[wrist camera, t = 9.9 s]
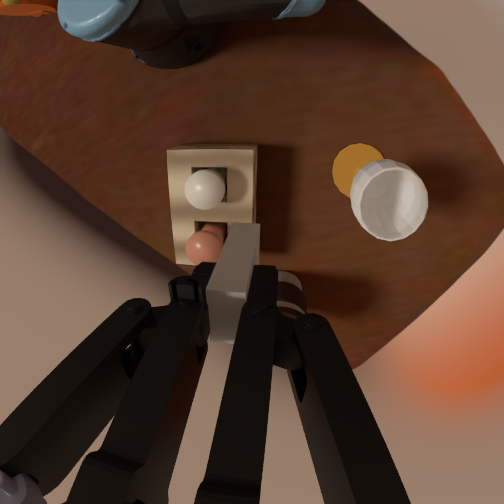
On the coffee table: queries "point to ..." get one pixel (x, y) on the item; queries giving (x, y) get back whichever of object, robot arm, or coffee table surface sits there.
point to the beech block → (236, 196)
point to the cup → (381, 192)
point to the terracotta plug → (206, 243)
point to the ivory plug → (206, 187)
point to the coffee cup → (290, 295)
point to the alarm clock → (28, 7)
